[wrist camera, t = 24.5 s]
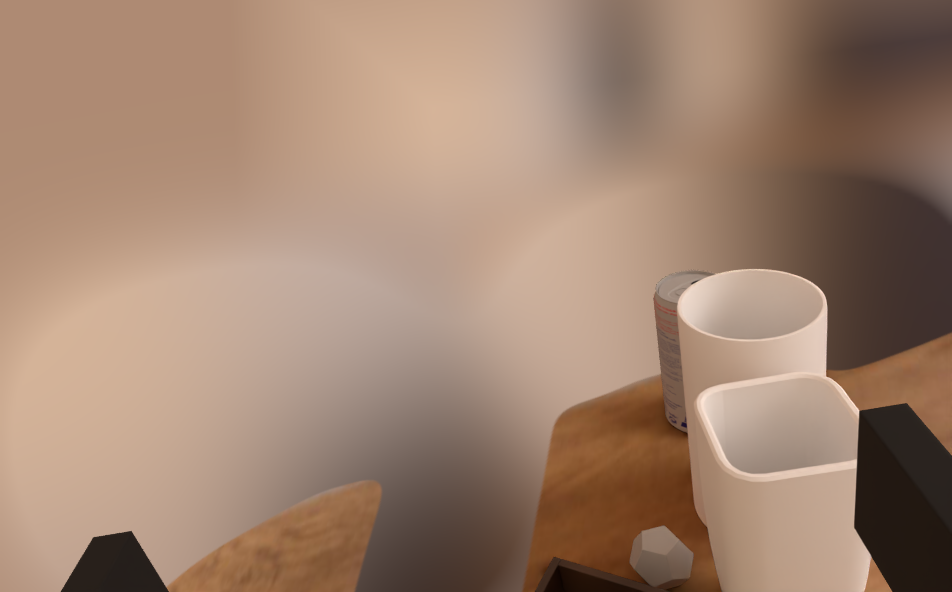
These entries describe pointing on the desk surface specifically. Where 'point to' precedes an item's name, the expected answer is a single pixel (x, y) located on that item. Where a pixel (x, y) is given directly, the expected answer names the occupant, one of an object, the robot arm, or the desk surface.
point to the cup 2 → (781, 484)
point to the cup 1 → (746, 337)
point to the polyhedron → (661, 558)
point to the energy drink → (673, 341)
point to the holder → (586, 580)
